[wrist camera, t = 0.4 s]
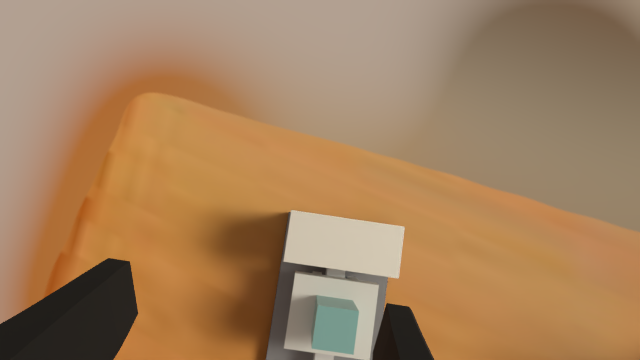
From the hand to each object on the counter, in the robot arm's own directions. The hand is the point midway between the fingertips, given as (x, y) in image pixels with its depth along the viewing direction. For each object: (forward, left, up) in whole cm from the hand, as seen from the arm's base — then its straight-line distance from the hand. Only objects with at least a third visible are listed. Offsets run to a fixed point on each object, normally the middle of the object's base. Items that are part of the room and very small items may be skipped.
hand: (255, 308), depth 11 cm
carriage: (-5, -4, -24) cm, 25 cm away
